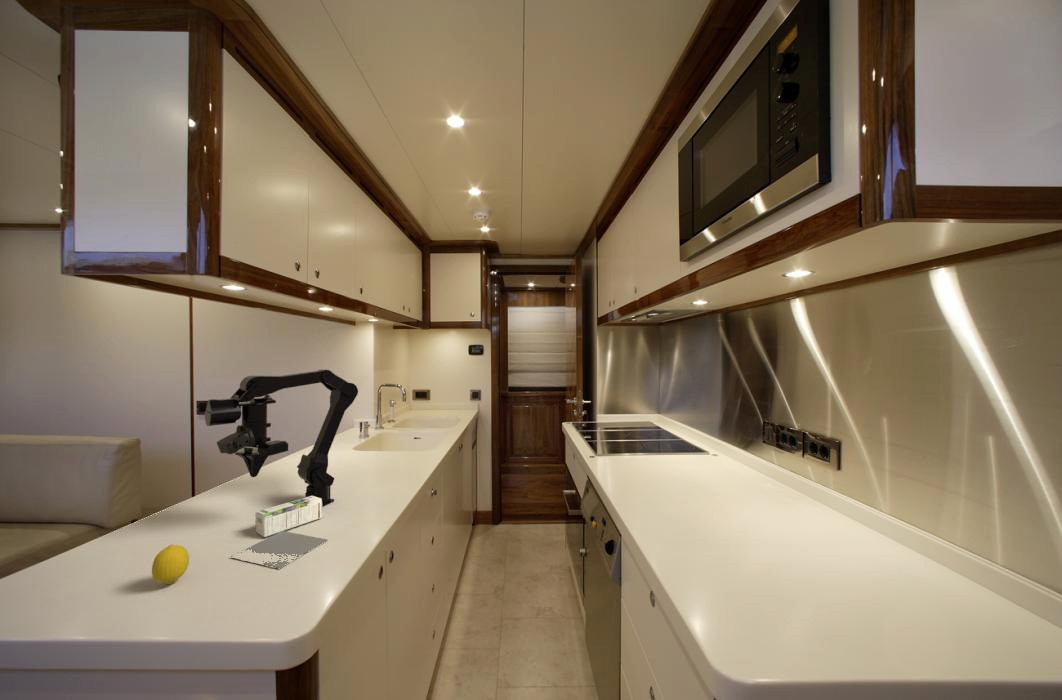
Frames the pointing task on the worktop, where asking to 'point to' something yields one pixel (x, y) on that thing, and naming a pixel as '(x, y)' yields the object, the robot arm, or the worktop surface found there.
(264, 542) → the mat
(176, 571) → the lemon
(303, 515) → the syrup box
